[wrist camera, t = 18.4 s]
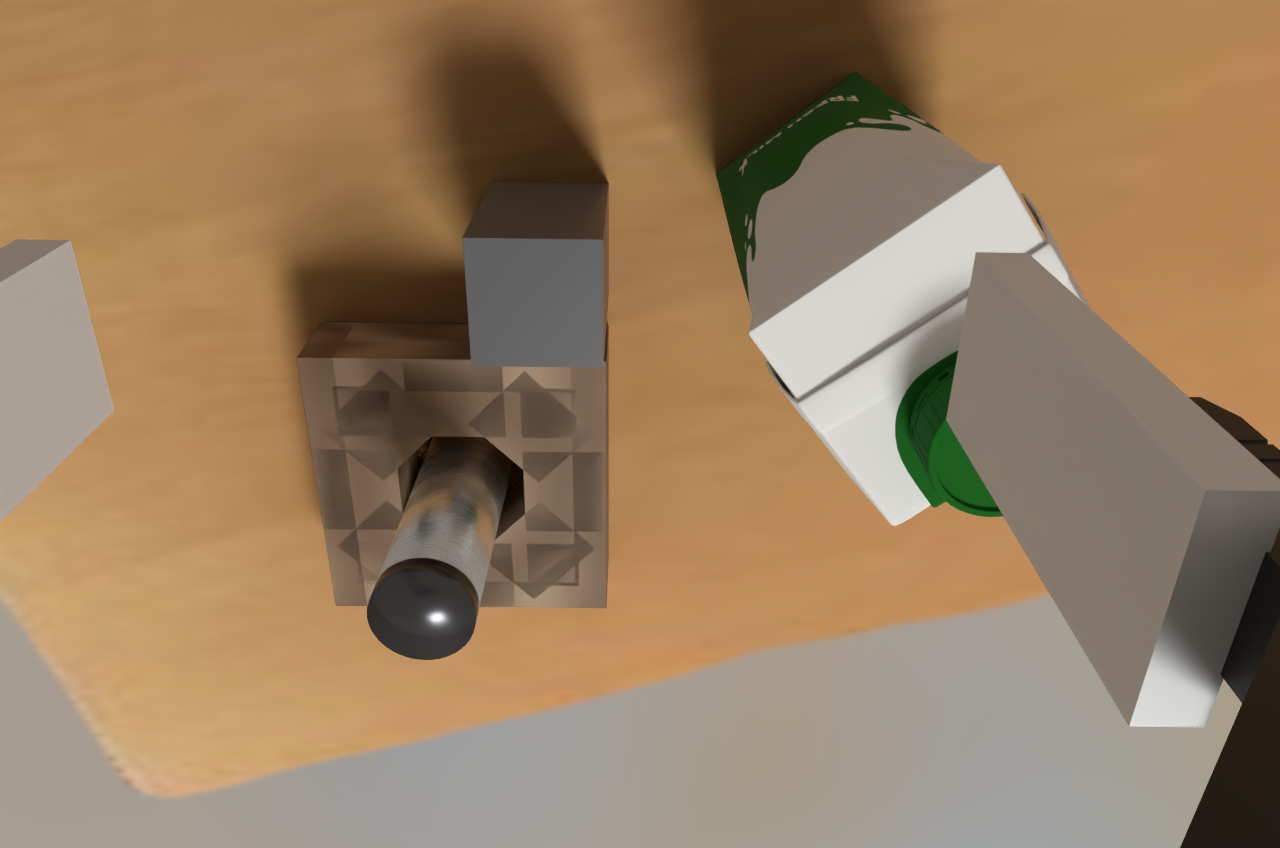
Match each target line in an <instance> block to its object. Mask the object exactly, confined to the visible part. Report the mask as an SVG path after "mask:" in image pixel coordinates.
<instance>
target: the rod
mask: <svg viewBox="0 0 1280 848" xmlns="http://www.w3.org/2000/svg"><path fill="white" fill-rule="evenodd" d="M512 463H513V461H512V460H511V459H510V458H508V457H507V456H506V455H505V454H504V453H503V452H501V451H500V450H499V449H498V448H497V447H495V446H494V445H493V444H492V443H491V442H489V441H488V440H487V439H486V438H485V437H433V438H432V441H431V444H430V446H429V449H428V451H427V454H426V456H425V459H424V461H423V464H422V467H421V469H420V472H419V474H418V477H417V479H416V482H415V484H414V487H413V490H412V492H411V495H410V497H409V500H408V502H407V505H406V507H405V510H404V513H403V515H402V518H401V520H400V523H399V525H398V528H397V530H396V533H395V536H394V538H393V541H392V543H391V546H390V548H389V551H388V553H387V556H386V559H385V561H384V564H383V566H382V569H381V571H380V574H379V576H378V579H377V582H376V584H375V587H374V589H373V592H372V594H371V597H370V599H369V603H368V606H367V619H368V623H369V626H370V628H371V630H372V632H373V633H374V635H375V636H376V637H377V639H378V640H379V641H380V642H381V643H382V644H383V645H385V646H386V647H387V648H389V649H390V650H392V651H394V652H396V653H398V654H400V655H403V656H405V657H409V658H413V659H421V660H433V659H440V658H443V657H447V656H449V655H452V654H454V653H456V652H457V651H459V650H460V649H462V648H463V647H464V646H465V645H466V644H467V642H468V641H469V640H470V638H471V636H472V634H473V631H474V628H475V624H476V619H477V615H478V611H479V606H480V602H481V598H482V593H483V589H484V585H485V580H486V576H487V572H488V567H489V563H490V559H491V554H492V550H493V546H494V541H495V537H496V533H497V528H498V524H499V520H500V515H501V511H502V507H503V502H504V498H505V494H506V489H507V485H508V481H509V476H510V472H511V468H512Z"/></svg>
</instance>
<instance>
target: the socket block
mask: <svg viewBox="0 0 1280 848" xmlns="http://www.w3.org/2000/svg"><path fill="white" fill-rule="evenodd" d="M608 330H609V326H606V338H605V352H604V367H603V368H588V367H505V366H471V352H470V338H469V324H439V323H359V322H323V323H322V324H321V325H320V327H319V328H318V329H317V331H316V332H315V334H314V335H313V336H312V338H311V339H310V340H309V342H308V343H307V344H306V346H305V347H304V348H303V350H302V351H301V352H300V354H299V355H298V356H297V363H298V370H299V376H300V382H301V389H302V395H303V401H304V408H305V414H306V420H307V427H308V433H309V439H310V446H311V452H312V458H313V465H314V471H315V477H316V484H317V490H318V496H319V503H320V509H321V515H322V522H323V528H324V534H325V541H326V547H327V553H328V560H329V566H330V572H331V579H332V585H333V591H334V598H335V604H336V606H368V603H369V599H370V597H371V594H372V592H373V589H374V587H375V584H376V582H377V579H378V576H379V574H380V571H381V569H382V566H383V564H384V561H385V559H386V556H387V553H388V551H389V548H390V546H391V543H392V541H393V538H394V536H395V533H396V530H397V528H398V525H399V523H400V520H401V518H402V515H403V513H404V510H405V507H406V505H407V502H408V500H409V497H410V495H411V492H412V490H413V487H414V484H415V482H416V479H417V477H418V474H419V472H420V469H419V462H418V452H417V450H418V449H419V448H420V447H421V446H422V445H423V444H424V443H425V442H426V441H427V440H428V439H429V438H430V437H485V438H486V439H487V440H488V441H489V442H491V443H492V444H493V445H494V446H495V447H497V448H498V449H499V450H500V451H501V452H503V453H504V454H505V455H506V456H507V457H508V458H510V459H511V460H512V461H513V462H514V463H516V464H517V465H518V466H519V467H520V468H522V469H523V474H524V478H523V479H522V480H521V481H520V482H519V483H518V484H516V485H515V486H514V487H513V488H512V489H511V490H510V491H509V492H507V493H506V494H505V498H504V502H503V507H502V511H501V515H500V520H499V524H498V528H497V533H496V537H495V541H494V546H493V550H492V554H491V559H490V563H489V567H488V572H487V576H486V580H485V585H484V589H483V593H482V598H481V602H480V606H479V607H531V608H606V606H607V582H608Z"/></svg>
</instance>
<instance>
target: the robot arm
mask: <svg viewBox="0 0 1280 848" xmlns="http://www.w3.org/2000/svg"><path fill="white" fill-rule="evenodd" d="M113 411H114V408H113V404H112V400H111V396H110V392H109V388H108V384H107V380H106V376H105V373H104V369H103V365H102V361H101V357H100V353H99V349H98V345H97V341H96V338H95V334H94V330H93V326H92V322H91V318H90V314H89V310H88V306H87V303H86V299H85V295H84V291H83V287H82V283H81V279H80V275H79V271H78V268H77V264H76V260H75V256H74V252H73V248H72V244H71V240H15V241H13V242H12V243H10V244H8V245H6V246H4V247H3V248H1V249H0V522H1V521H2V520H3V519H4V518H5V517H6V516H7V515H8V514H9V513H10V512H11V511H12V510H13V509H14V508H15V507H16V506H17V505H18V504H19V503H20V502H21V501H22V500H23V499H24V498H25V497H26V496H27V495H28V494H29V493H30V492H31V491H32V490H33V489H35V488H36V487H37V486H38V485H39V484H40V483H41V482H42V481H43V480H44V479H45V478H46V477H47V476H48V475H49V474H50V473H51V472H52V471H53V470H54V469H55V468H56V467H57V466H58V465H59V464H60V463H61V462H62V461H63V460H64V459H65V458H66V457H67V456H68V455H69V454H70V453H71V452H72V451H73V450H74V449H75V448H76V447H77V446H78V445H79V444H80V443H81V442H83V441H84V440H85V439H86V438H87V437H88V436H89V435H90V434H91V433H92V432H93V431H94V430H95V429H96V428H97V427H98V426H99V425H100V424H101V423H102V422H103V421H104V420H105V419H106V418H107V417H108V416H109V415H110V414H111V413H112V412H113ZM946 421H947V422H948V424H949V426H950V428H951V429H952V431H953V433H954V434H955V436H956V438H957V439H958V441H959V443H960V444H961V446H962V448H963V449H964V451H965V453H966V454H967V456H968V458H969V459H970V461H971V463H972V464H973V466H974V468H975V469H976V471H977V473H978V474H979V476H980V478H981V479H982V481H983V483H984V484H985V486H986V488H987V489H988V491H989V493H990V494H991V496H992V498H993V499H994V501H995V503H996V505H997V506H998V508H999V510H1000V511H1001V513H1002V515H1003V516H1004V518H1005V520H1006V521H1007V523H1008V525H1009V526H1010V528H1011V530H1012V531H1013V533H1014V535H1015V536H1016V538H1017V540H1018V541H1019V543H1020V545H1021V546H1022V548H1023V550H1024V551H1025V553H1026V555H1027V556H1028V558H1029V560H1030V561H1031V563H1032V565H1033V566H1034V568H1035V570H1036V571H1037V573H1038V575H1039V576H1040V578H1041V580H1042V581H1043V583H1044V585H1045V587H1046V588H1047V590H1048V592H1049V593H1050V595H1051V597H1052V598H1053V600H1054V602H1055V603H1056V605H1057V606H1058V608H1059V610H1060V611H1061V613H1062V615H1063V617H1064V618H1065V620H1066V622H1067V623H1068V625H1069V627H1070V628H1071V630H1072V632H1073V633H1074V635H1075V637H1076V638H1077V640H1078V642H1079V643H1080V645H1081V647H1082V648H1083V650H1084V652H1085V653H1086V655H1087V657H1088V658H1089V660H1090V662H1091V663H1092V665H1093V667H1094V668H1095V670H1096V672H1097V673H1098V675H1099V677H1100V678H1101V680H1102V682H1103V684H1104V685H1105V687H1106V689H1107V690H1108V692H1109V694H1110V695H1111V697H1112V699H1113V700H1114V702H1115V704H1116V705H1117V707H1118V709H1119V710H1120V712H1121V714H1122V715H1123V717H1124V719H1125V720H1126V722H1127V724H1128V725H1129V726H1139V727H1142V726H1143V727H1144V726H1145V727H1205V726H1206V724H1207V721H1208V718H1209V716H1210V713H1211V710H1212V708H1213V705H1214V702H1215V700H1216V697H1217V694H1218V692H1219V689H1220V686H1221V684H1222V681H1223V678H1224V680H1225V681H1226V682H1227V684H1228V685H1229V686H1230V687H1231V689H1232V690H1233V691H1234V693H1235V694H1236V696H1237V697H1238V698H1239V699H1240V701H1241V702H1242V705H1241V708H1240V710H1239V712H1238V715H1237V717H1236V719H1235V722H1234V724H1233V726H1232V729H1231V731H1230V733H1229V736H1228V738H1227V741H1226V743H1225V745H1224V747H1223V750H1222V752H1221V754H1220V757H1219V759H1218V761H1217V763H1216V766H1215V768H1214V770H1213V773H1212V775H1211V777H1210V780H1209V782H1208V784H1207V787H1206V789H1205V791H1204V794H1203V796H1202V798H1201V801H1200V803H1199V805H1198V808H1197V810H1196V812H1195V815H1194V817H1193V819H1192V822H1191V824H1190V826H1189V828H1188V831H1187V833H1186V836H1185V838H1184V840H1183V842H1182V845H1181V847H1180V848H1280V450H1279V449H1278V448H1276V447H1275V446H1274V445H1268V443H1267V442H1268V440H1267V439H1266V438H1265V437H1263V436H1262V435H1261V434H1260V433H1259V432H1258V431H1256V430H1255V429H1254V428H1253V427H1252V426H1251V425H1249V424H1248V423H1247V422H1246V421H1245V420H1244V419H1242V418H1241V417H1239V416H1237V415H1235V414H1233V413H1231V412H1229V411H1227V410H1225V409H1223V408H1221V407H1219V406H1217V405H1215V404H1213V403H1211V402H1209V401H1207V400H1205V399H1203V398H1201V397H1188V396H1187V395H1186V394H1184V393H1183V392H1182V391H1181V390H1180V389H1179V388H1178V387H1177V386H1176V385H1174V384H1173V383H1172V382H1171V381H1170V380H1169V379H1168V378H1167V377H1166V376H1164V375H1163V374H1162V373H1161V372H1160V371H1159V370H1158V369H1157V368H1156V367H1154V366H1153V365H1152V364H1151V363H1150V362H1149V361H1148V360H1147V359H1146V358H1144V357H1143V356H1142V355H1141V354H1140V353H1139V352H1138V351H1137V350H1136V349H1134V348H1133V347H1132V346H1131V345H1130V344H1129V343H1128V342H1127V341H1125V340H1124V339H1123V338H1122V337H1121V336H1120V335H1119V334H1118V333H1117V332H1115V331H1114V330H1113V329H1112V328H1111V327H1110V326H1109V325H1108V324H1107V323H1105V322H1104V321H1103V320H1102V319H1101V318H1100V317H1099V316H1098V315H1097V314H1095V313H1094V312H1093V311H1092V310H1091V309H1090V308H1089V307H1088V306H1087V305H1085V304H1084V303H1083V302H1082V301H1081V300H1080V299H1079V298H1078V297H1077V296H1075V295H1074V294H1073V293H1072V292H1071V291H1070V290H1069V289H1068V288H1067V287H1065V286H1064V285H1063V284H1062V283H1061V282H1060V281H1059V280H1058V279H1056V278H1055V277H1054V276H1053V275H1052V274H1051V273H1050V272H1049V271H1048V270H1046V269H1045V268H1044V267H1043V266H1042V265H1041V264H1040V263H1039V262H1038V261H1036V260H1035V259H1034V258H1033V257H1032V256H1031V255H1030V254H1029V253H997V252H976V254H975V259H974V265H973V270H972V276H971V282H970V287H969V293H968V299H967V304H966V310H965V316H964V321H963V327H962V333H961V338H960V344H959V349H958V355H957V361H956V366H955V372H954V378H953V383H952V389H951V395H950V400H949V406H948V412H947V417H946Z"/></svg>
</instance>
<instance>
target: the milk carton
mask: <svg viewBox="0 0 1280 848" xmlns="http://www.w3.org/2000/svg"><path fill="white" fill-rule="evenodd" d="M716 176H717V180H718V184H719V188H720V192H721V196H722V200H723V204H724V208H725V212H726V217H727V221H728V225H729V229H730V233H731V237H732V241H733V245H734V249H735V253H736V257H737V261H738V265H739V269H740V272H741V276H742V279H743V283H744V286H745V290H746V294H747V297H748V301H749V304H750V308H751V312H752V315H753V318H752V322H751V325H750V329H749V335H750V337H751V338H752V339H753V341H754V342H755V344H756V345H757V346H758V348H759V349H760V350H761V352H762V353H763V354H764V356H765V357H766V358H767V360H768V361H769V362H770V364H771V365H772V366H773V368H774V369H775V370H776V372H777V373H778V374H779V376H780V377H781V378H782V380H783V381H784V382H785V383H784V382H783V381H782V380H781V378H780V377H779V376H778V374H777V373H776V372H775V370H774V369H773V368H772V366H771V365H770V364H769V362H768V361H766V364H767V367H768V369H769V371H770V373H771V375H772V377H773V378H774V380H775V381H776V383H777V384H778V386H779V387H780V389H781V390H782V391H783V393H784V394H785V395H786V397H787V398H788V399H789V401H790V402H791V403H792V405H793V406H794V407H795V408H796V410H797V411H798V412H799V414H800V415H801V416H802V417H803V418H804V419H805V420H806V421H807V422H808V424H809V425H810V426H811V427H812V429H813V430H814V431H815V433H816V434H817V435H818V436H819V438H820V439H821V440H822V442H823V443H824V444H825V446H826V447H827V448H828V449H829V451H830V452H831V453H832V455H833V456H834V457H835V458H836V460H837V461H838V462H839V463H840V465H841V466H842V467H843V468H844V470H845V471H846V472H847V473H848V475H849V476H850V477H851V478H852V479H853V481H854V482H855V483H856V484H857V485H858V486H859V488H860V489H861V490H862V491H863V492H864V494H865V495H866V496H867V497H868V498H869V499H870V501H871V502H872V503H873V504H874V505H875V506H876V508H877V509H878V510H879V511H880V512H881V514H882V515H883V516H884V517H885V518H886V519H887V521H888V522H889V523H890V524H891V525H893V526H896V525H898V524H901V523H902V522H904V521H906V520H908V519H910V518H911V517H913V516H914V515H916V514H917V513H919V512H920V511H922V510H924V509H925V508H927V507H928V506H930V505H931V506H932V507H934V508H935V507H937V506H939V505H941V504H942V503H944V502H948V503H949V504H950V505H951V506H953V507H955V508H957V509H959V510H961V511H963V512H966V513H969V514H972V515H977V516H985V517H1000V516H1003V515H1002V513H1001V511H1000V510H999V508H998V506H997V505H996V503H995V501H994V499H993V498H992V496H991V494H990V493H989V491H988V489H987V488H986V486H985V484H984V483H983V481H982V479H981V478H980V476H979V474H978V473H977V471H976V469H975V468H974V466H973V464H972V463H971V461H970V459H969V458H968V456H967V454H966V453H965V451H964V449H963V448H962V446H961V444H960V443H959V441H958V439H957V438H956V436H955V434H954V433H953V431H952V429H951V428H950V426H949V424H948V422H947V421H946V417H947V412H948V406H949V400H950V395H951V389H952V383H953V378H954V372H955V366H956V361H957V355H958V349H959V344H960V338H961V333H962V327H963V321H964V316H965V310H966V304H967V299H968V293H969V287H970V282H971V276H972V270H973V265H974V259H975V254H976V252H997V253H1029V254H1030V255H1031V256H1032V257H1033V258H1034V259H1035V260H1036V261H1038V262H1039V263H1040V264H1041V265H1042V266H1043V267H1044V268H1045V269H1046V270H1048V271H1049V272H1050V273H1051V274H1052V275H1053V276H1054V277H1055V278H1056V279H1058V280H1059V281H1060V282H1061V283H1062V284H1063V285H1064V286H1065V287H1067V288H1068V289H1069V290H1070V291H1071V292H1072V293H1073V294H1074V295H1075V296H1077V297H1078V298H1079V299H1080V300H1081V301H1082V302H1083V303H1084V304H1085V305H1087V306H1088V307H1089V308H1090V306H1089V304H1088V302H1087V300H1086V298H1085V296H1084V294H1083V293H1082V291H1081V289H1080V287H1079V285H1078V284H1077V282H1076V280H1075V278H1074V276H1073V275H1072V273H1071V271H1070V269H1069V267H1068V266H1067V264H1066V262H1065V260H1064V258H1063V257H1062V255H1061V252H1060V250H1059V248H1058V246H1057V244H1056V242H1055V240H1054V238H1053V236H1052V234H1051V232H1050V231H1049V229H1048V227H1047V225H1046V224H1045V222H1044V220H1043V219H1042V217H1041V215H1040V214H1039V212H1038V210H1037V209H1036V207H1035V206H1034V205H1033V203H1032V202H1031V201H1030V199H1029V198H1028V197H1027V196H1026V195H1025V194H1024V193H1022V194H1021V195H1022V197H1023V198H1024V200H1025V202H1026V204H1027V205H1028V207H1029V209H1030V211H1031V212H1032V214H1033V216H1034V218H1035V219H1036V221H1037V223H1038V225H1039V226H1040V228H1041V230H1042V231H1043V233H1044V235H1045V238H1046V241H1047V243H1046V242H1045V240H1044V239H1043V237H1042V235H1041V233H1040V232H1039V230H1038V228H1037V226H1036V225H1035V223H1034V221H1033V219H1032V218H1031V216H1030V214H1029V213H1028V211H1027V209H1026V207H1025V206H1024V204H1023V202H1022V200H1021V199H1020V197H1019V195H1018V194H1017V192H1016V190H1015V188H1014V187H1013V185H1012V183H1011V181H1010V180H1009V178H1008V176H1007V175H1006V173H1005V171H1004V170H1003V168H1002V167H1001V165H999V164H989V163H981V162H980V161H978V160H977V159H976V158H974V157H973V156H972V155H970V154H969V153H968V152H967V151H965V150H964V149H963V148H961V147H960V146H959V145H957V144H956V143H955V142H953V141H952V140H951V139H949V138H948V137H947V136H945V135H944V134H943V133H941V132H940V131H939V130H937V129H936V128H934V127H933V126H931V125H930V124H929V123H927V122H926V121H924V120H923V119H922V118H920V117H919V116H918V115H916V114H915V113H913V112H912V111H911V110H909V109H908V108H906V107H905V106H904V105H902V104H901V103H899V102H898V101H896V100H895V99H893V98H892V97H891V96H889V95H888V94H886V93H885V92H883V91H882V90H880V89H879V88H877V87H876V86H875V85H873V84H872V83H870V82H869V81H867V80H866V79H865V78H863V77H862V76H861V75H859V74H858V73H857V72H855V73H853V74H852V75H851V76H849V77H848V78H846V79H845V80H844V81H842V82H841V83H840V84H838V85H837V86H836V87H834V88H833V89H831V90H830V91H829V92H827V93H826V94H825V95H823V96H822V97H821V98H819V99H818V100H816V101H815V102H814V103H812V104H811V105H810V106H808V107H807V108H806V109H804V110H803V111H801V112H800V113H799V114H797V115H796V116H795V117H793V118H792V119H790V120H789V121H788V122H786V123H785V124H784V125H782V126H781V127H780V128H778V129H777V130H775V131H774V132H773V133H771V134H770V135H769V136H767V137H766V138H765V139H763V140H762V141H760V142H759V143H758V144H756V145H755V146H754V147H752V148H751V149H750V150H748V151H747V152H745V153H744V154H743V155H741V156H740V157H739V158H737V159H736V160H734V161H733V162H732V163H730V164H729V165H728V166H726V167H725V168H724V169H722V170H721V171H719V172H718V173H717V174H716ZM1090 309H1091V308H1090ZM785 384H786V385H787V386H788V387H787V386H786V385H785ZM788 388H789V389H790V390H791V392H792V393H793V394H794V396H795V397H796V398H797V400H798V401H797V400H796V399H795V398H794V396H793V395H792V393H791V392H790V390H789V389H788Z"/></svg>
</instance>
